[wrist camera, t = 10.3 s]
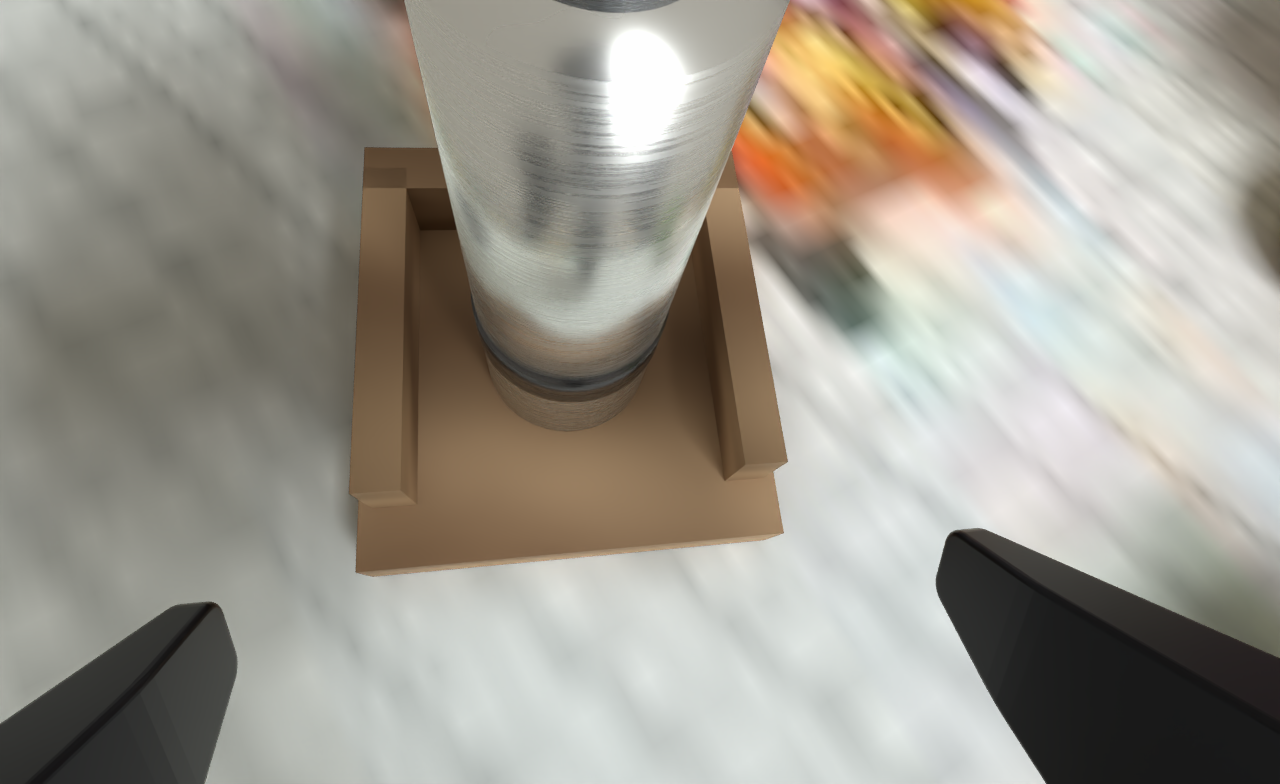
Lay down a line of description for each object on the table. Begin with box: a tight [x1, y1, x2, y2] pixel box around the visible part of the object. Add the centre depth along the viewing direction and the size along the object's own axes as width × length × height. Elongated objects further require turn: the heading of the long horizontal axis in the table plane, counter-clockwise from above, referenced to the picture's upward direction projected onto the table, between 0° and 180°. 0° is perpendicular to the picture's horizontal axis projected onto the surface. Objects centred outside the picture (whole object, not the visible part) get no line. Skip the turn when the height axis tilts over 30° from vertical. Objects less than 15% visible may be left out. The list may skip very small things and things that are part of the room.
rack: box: [349, 147, 788, 577], centre depth 16 cm, size 10×10×3 cm
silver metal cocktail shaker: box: [404, 0, 790, 432], centre depth 10 cm, size 4×4×13 cm
